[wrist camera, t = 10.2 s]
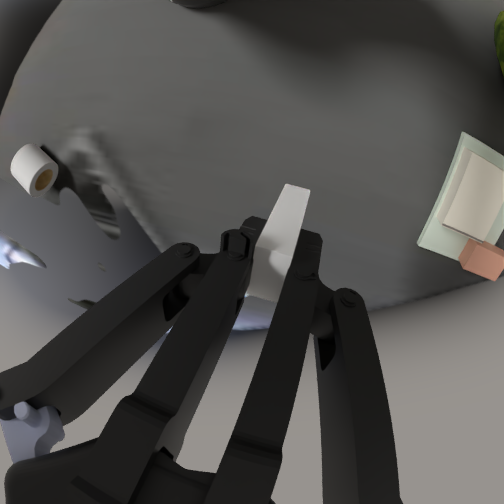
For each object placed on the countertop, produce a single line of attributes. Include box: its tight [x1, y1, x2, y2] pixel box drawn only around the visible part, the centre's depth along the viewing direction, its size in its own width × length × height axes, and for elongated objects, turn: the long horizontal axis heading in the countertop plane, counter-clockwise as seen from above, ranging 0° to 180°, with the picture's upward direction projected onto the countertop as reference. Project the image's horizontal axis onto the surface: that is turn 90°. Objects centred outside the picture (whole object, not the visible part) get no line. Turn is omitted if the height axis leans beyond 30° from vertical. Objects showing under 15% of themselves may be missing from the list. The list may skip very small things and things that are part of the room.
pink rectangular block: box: [458, 238, 504, 281], centre depth 34 cm, size 5×9×3 cm, turn 82°
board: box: [417, 131, 504, 261], centre depth 32 cm, size 20×15×1 cm
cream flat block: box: [436, 147, 504, 243], centre depth 29 cm, size 12×9×3 cm
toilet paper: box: [11, 143, 58, 197], centre depth 49 cm, size 10×10×10 cm
